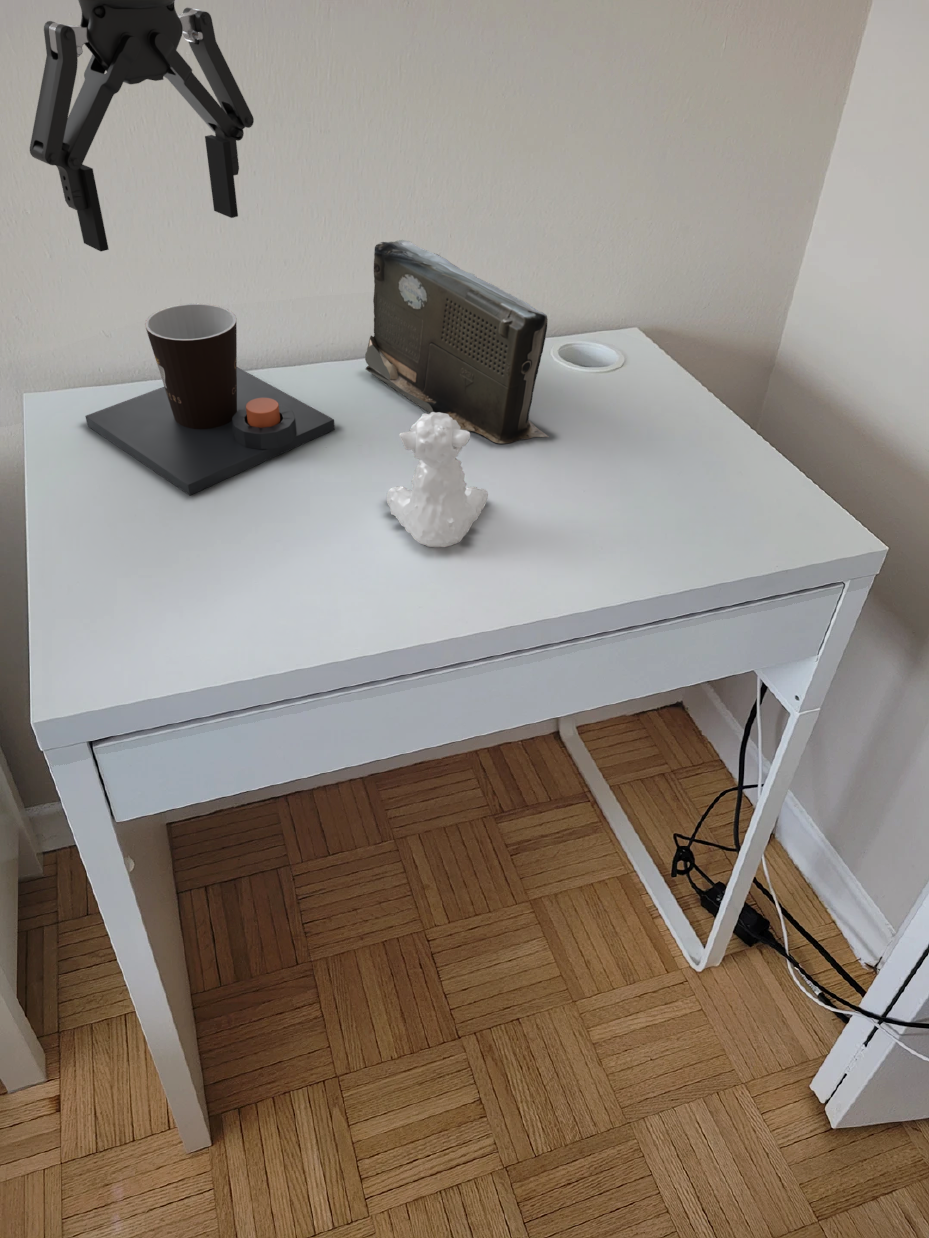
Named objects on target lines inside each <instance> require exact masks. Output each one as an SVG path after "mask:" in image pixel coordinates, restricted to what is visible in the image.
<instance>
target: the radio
mask: <svg viewBox="0 0 929 1238" xmlns="http://www.w3.org/2000/svg"><path fill="white" fill-rule="evenodd" d="M373 279H374V280H373V283H374V288H373V299H372V300H373V301H372V302H373V335H370V337H369V340H368V343H367V347H366V351H365V354H364V360H365V362H366V364H367V366H366V367H365V370H366V371H367V372H368V373H370V374H372V375H373V376H374V377H376V378H377V379H379V380H381V381H382V382H383V383H384V384H386V385H388V386H389V387H391V388H392V389H393V390H395V391H396V392H398V393H399V394H400V395H402V396H404V397H405V398H407V399H408V400H410V401H411V402H413V403H414V404H416V405H417V406H418V407H420V408H422V409H423V410H425V411H426V412H428V414H430V413H431V412H435V413H437V412H440V413H445V414H448V415H449V417H451V418H452V419H453V420H456V421H457V423H458V425H459V426H460V427H461V428H460V429H461V430H467V431H469V432H475V433H477V434H478V435H481V436H483V437H485V438H486V439H487V440H490V441H491V442H493V443H496V444H510V443H514V442H517V441H521V440H530V439H532V438H549V437H550V436H549V435H548V434H547V433H545V432H543V431H542V430H540V429H539V428H538V427H536V425H535V424H533V422H532V421H531V420H530V410H531V406H532V402H533V396H534V390H535V384H536V380H537V377H538V373H539V370H540V365H541V360H542V355H543V352H544V347H545V342H546V337H547V331H548V316H547V314H546V313H544V312H543V311H539V310H537V309H536V308H535V307H533V306H532V305H531V304H529V303H528V302H526V301H524V300H522V299H519V298H518V297H516V296H514V295H513V294H511V293H508V292H506V291H505V290H503V289H501V288H499V287H498V286H496V285H494V284H493V283H490V282H488V281H486V280H483V279H482V278H479V277H478V276H477V275H475V274H474V273H472V272H468V271H465V270H463V269H461V268H460V267H458V266H457V265H455V264H453V263H451V262H450V261H449V260H448V259H447V258H445V257H443V256H441V255H440V254H439V253H435V252H432V251H429V250H427V249H425V248H423V247H420V246H418V245H416V244H415V243H414V242H412V241H410V240H405V239H399V240H395V241H381V242H379V243H376V245H375V246H374V252H373Z"/></svg>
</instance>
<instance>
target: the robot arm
mask: <svg viewBox="0 0 929 1238" xmlns="http://www.w3.org/2000/svg"><path fill="white" fill-rule="evenodd" d="M77 1H78V4H79V8H80V11H81V18H80V23H79V25H76V24H75V25H72V24H64V23H60V22H56V21H52V20H47V21H46V22H45V23H44V25H43V35H44V44H45V51H46V59H45V64H44V68H43V73H42V78H41V84H40V90H39V96H38V100H37V107H36V111H35V116H34V123H33V127H32V132H31V133H32V134H31V138H30V145H29V154H30V156H31V157H32V158H34V159H36V160H38V161H40V162H43V163H45V164H47V165H50V166H56V168H57V170H58V175H59V179H60V184H61V187H62V193H63V198H64V201H65V203H66V204H67V206H68V208H71V209H72V210H75V211H76V213H77V219H78V223H79V228H80V232H81V237H82V241H83V244H84V245H86V246H89V247H91V248H93V249H94V250H96V251H99V252H105V251H108V250H109V244H108V239H107V238H108V237H107V234H106V230H105V229H106V228H105V224H104V219H103V213H102V209H101V208H102V207H101V204H100V198H99V194H98V188H97V184H96V178H95V173H94V168H92V167H90V166H88V165H86V164H84V161H85V159H86V157H87V155H88V153H89V150H90V148H91V146H92V143H93V142H94V140H95V137H96V135H97V132H98V130H99V128H100V127H101V124H102V121H103V119H104V118H105V115H106V112H107V111H108V108H109V106H110V104H111V102H112V100H113V97H114V96H115V95H116V94H118V93H119V92H120V90H121V89H122V86H123V84H127V85H138V84H140V83H142V82H144V81H146V80H150V81H155V82H157V81H163V80H164V78H166V80H168V81H169V83H170V84H171V85H172V86H173V87H174V88H175V90H176V91H177V92H178V93H179V94H180V95H181V97H183V99H184V100H185V101H186V102H187V104H188V105H189V106H190V107H191V108H192V109H193V110H194V111H195V112H196V114H197V115H198V116H199V117H200V118H201V119H202V121H203V122H204V123H205V124H206V125H207V126H208V127H209V129H210V130H211V131H212V132H213V133H214V135H213V134H208V135H205V136H204V141H205V149H206V156H207V165H208V172H209V181H210V189H211V190H210V191H211V196H212V205H213V212H215V213H218V214H220V215H223V216H226V217H228V218H230V219H233V218H238V217H239V213H238V211H239V210H238V201H237V193H236V185H235V176H238V175H239V171H240V164H239V153H238V145H237V141H238V142H239V141H241V140H242V139H243V138H244V129H245V128H246V129H250V128H252V127H253V125H254V120H255V119H254V116H253V114H252V111H251V109H250V108H249V106H248V103H247V101H246V99H245V97H244V95H243V93H242V91H241V89H240V87H239V85H238V83H237V81H236V79H235V77H234V75H233V73H232V71H231V69H230V67H229V65H228V63H227V61H226V59H225V57H224V54H223V52H222V50H221V48H220V46H219V44H218V42H217V38H216V33H215V29H214V23H213V18H212V16H211V14H210V13H209V12H208V11H206V10H201V9H196V8H193V7H185V8H184V9H183V12H182V13H179V14H178V13H177V10H176V8H175V1H176V0H77ZM182 36H183V39H184V40H185V41H187V42H188V44H189V47H190V49H191V51H192V53H193V55H194V57H195V59H196V61H197V63H198V65H199V68H200V69H201V71H202V73H203V74H204V77H205V78H206V81H207V82H208V85H209V87H210V89H211V90H212V92H213V94H214V96H215V98H216V99H215V98H214V96H213V95H211V94H210V92H209V91H208V90H207V88H206V87H205V85H204V84H202V83H201V81H200V80H199V78H198V77H197V76H196V75H195V74H194V72H193V69H192V68H191V66H190V65H189V64H188V62H187V61H186V60H185V58H183V56H182V55H181V53H180V52H179V51H178V47H179V45H180V43H181V39H182ZM83 46H85V47H86V48H87V49H88V50H89V52H90V53H91V57H90V58H89V61H88V64H87V66H86V67H85V70H84V73H83V77H84V80H83V83H82V86H81V88H80V89H79V92H78V94H77V97H76V99H75V101H74V104H73V106H72V108H71V103H72V98H73V92H74V89H75V84H76V78H77V73H78V72H77V71H78V63H79V61H78V58H79V57H80V56H81V55H83V52H84V51H83V50H84V49H83ZM70 109H71V110H70Z"/></svg>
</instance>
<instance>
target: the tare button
mask: <svg viewBox="0 0 929 1238" xmlns="http://www.w3.org/2000/svg"><path fill="white" fill-rule="evenodd" d="M246 412H247V420H248V424H249V425H250V426H253V427H259V428H264V427H272V426H274V425H276V424H279V422H280V413H279V404H278V402H277V401H275V400H273V399H270V398H257V399H253V400H251V401H249V402H248V403H247V404H246Z"/></svg>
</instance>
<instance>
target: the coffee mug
mask: <svg viewBox="0 0 929 1238" xmlns="http://www.w3.org/2000/svg"><path fill="white" fill-rule="evenodd" d="M144 328H145V330H146V333H147V337H148V340H149V343H150V346H151V349H152V352H153V355H154V359H155V362H156V365H157V368H158V372H159V374H160V377H161V380H162V384H163V387H165V390H166V393H167V397H168V400H169V403H170V406H171V409H172V412H173V415H174V419H175V420H176V422H177V423H178V424H180V425H182V426H184V427H187V428H192V429H211V428H216V427H220V426H223V425H225V424H227V423H229V422H231V421H232V417H233V416H234V415H235V414H236V412H237V367H238V362H237V361H238V357H237V351H238V350H237V349H238V348H237V347H238V346H237V345H238V344H237V343H238V342H237V341H238V340H237V339H238V337H237V336H238V335H237V333H238V332H237V316H236V314H235V313H234V312H233V311H232V310H230V309H229V308H226V307H224V306H220V305H217V304H211V303H198V302H197V303H182V304H177V305H176V304H175V305H171V306H168V307H164V308H162V309H159V310H157V311H155V312H153V313H152V314H150V315H149V316H148V317H147V318H146V319H145V322H144Z"/></svg>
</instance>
